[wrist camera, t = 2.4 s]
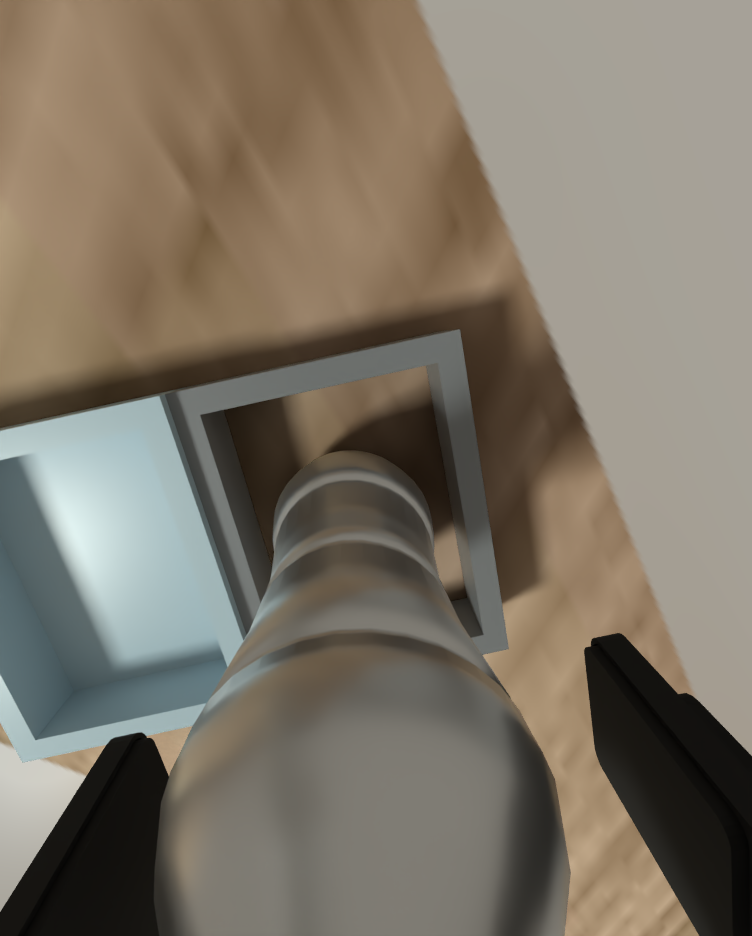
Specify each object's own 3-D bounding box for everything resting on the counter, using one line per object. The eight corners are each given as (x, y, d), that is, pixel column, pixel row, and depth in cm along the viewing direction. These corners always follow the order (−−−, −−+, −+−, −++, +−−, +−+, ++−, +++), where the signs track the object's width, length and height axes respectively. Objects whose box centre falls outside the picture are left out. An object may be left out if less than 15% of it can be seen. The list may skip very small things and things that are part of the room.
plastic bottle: (357, 408, 20) (497, 1685, 1) (451, 515, 22) (1180, 1777, 3) (252, 501, 21) (-703, 2105, 2) (350, 596, 23) (355, 1982, 4)
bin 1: (-59, 441, 20) (-144, 462, 16) (191, 386, 20) (159, 395, 16) (69, 702, 24) (22, 762, 20) (278, 656, 23) (267, 709, 20)
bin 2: (191, 386, 20) (164, 394, 17) (443, 330, 20) (459, 329, 17) (278, 656, 23) (268, 700, 21) (489, 610, 23) (508, 648, 21)
